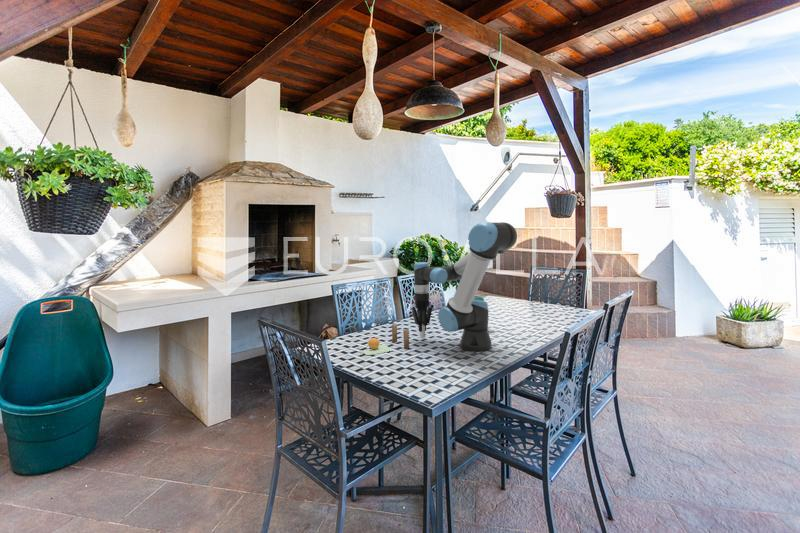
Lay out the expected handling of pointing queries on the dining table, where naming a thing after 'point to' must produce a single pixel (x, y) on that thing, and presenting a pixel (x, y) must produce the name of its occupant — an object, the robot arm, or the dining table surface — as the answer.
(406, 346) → the post
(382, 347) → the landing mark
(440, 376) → the dining table surface
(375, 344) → the ball
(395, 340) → the post
